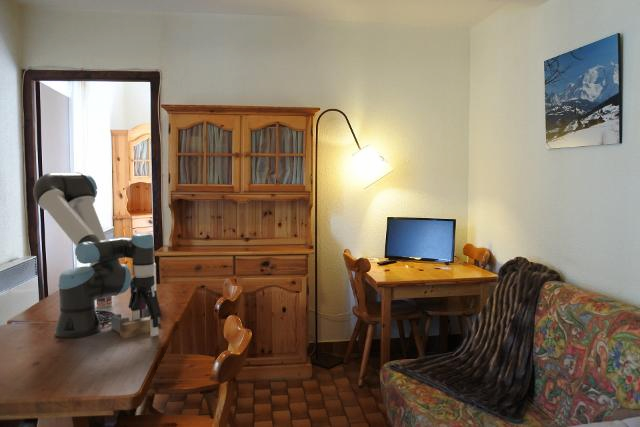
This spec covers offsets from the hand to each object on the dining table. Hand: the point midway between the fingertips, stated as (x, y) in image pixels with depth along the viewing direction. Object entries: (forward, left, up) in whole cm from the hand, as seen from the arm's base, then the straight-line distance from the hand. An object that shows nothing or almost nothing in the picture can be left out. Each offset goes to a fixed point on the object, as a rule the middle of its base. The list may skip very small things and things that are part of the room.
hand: (145, 331), depth 185 cm
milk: (+18, +31, 0) cm, 36 cm away
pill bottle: (+5, +46, 0) cm, 46 cm away
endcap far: (+7, +9, 0) cm, 11 cm away
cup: (+9, +22, 0) cm, 24 cm away
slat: (-3, 0, 0) cm, 3 cm away
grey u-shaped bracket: (-5, +9, 0) cm, 10 cm away
